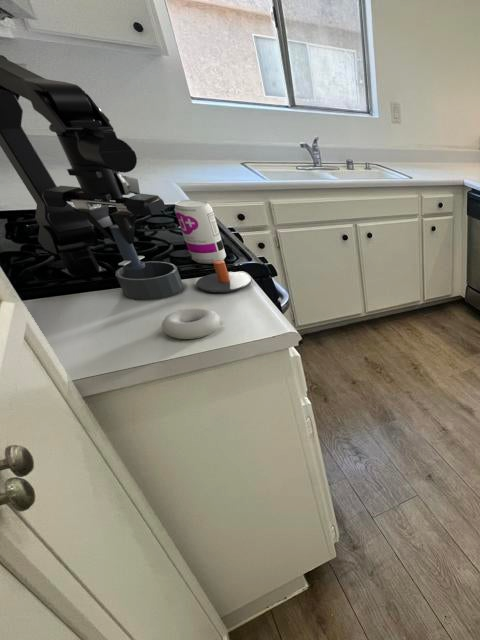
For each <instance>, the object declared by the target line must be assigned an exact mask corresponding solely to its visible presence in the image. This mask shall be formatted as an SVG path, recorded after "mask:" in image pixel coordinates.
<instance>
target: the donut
mask: <svg viewBox="0 0 480 640" xmlns="http://www.w3.org/2000/svg"><path fill="white" fill-rule="evenodd" d="M220 325H221V318H220V315H218V313H216V312H215V311H214V310H211V309H208V308H204V307H189V308H184V309H179V310H176V311H174V312H171V313H170V314H168V315H166V316H165V318H164V319H163V320H162V322H161V328H162V331H163V332H164V333H165V334H166V335H167V336H168V337H172V338H175V339H180V340H192V339H199V338H203V337H206V336H209V335H211V334H213V333H214V332H216V331H217V330H218V329H219V327H220Z"/></svg>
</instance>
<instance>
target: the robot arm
mask: <svg viewBox="0 0 480 640" xmlns="http://www.w3.org/2000/svg"><path fill="white" fill-rule="evenodd" d="M20 97H22V98H24V99H26V100H28V101H30V103H31V106H32V108H33V110H34V111H36V112H37V113H38V114H40V115H41V116H42V117H43V118H44V119H45V120H47V121H48V122H49V123H50V124H49V126H48V129H49V131H50V132H52V133H55V134H56V136H57V139H58V141H59V143H60V146H61V148H62V150H63V152H64V154H65V156H66V159H67V161H68V163H69V165H70V167H71V168H66V171H67V173H68V174H69V176H72V177H73V176H74V177H75V178H76V181H77V182H78V184H79V186H80V187H79V186H72V185H71V186H69V185H57V184H56V182H55V180H54V179H53V177H52V175H51V174H50V172H49V170H48V169H47V167H46V166H45V163H44V162H43V160H42V159H41V157H40V155H39V154H38V152H37V151H36V148H35V147H34V145H33V144H32V142H31V140H30V139H29V137H28V135H27V134H26V131H25V130H24V128H23V126H22V121H23V113H24V112H23V111H24V110H23V107H22V106H21V104H20V102H19V99H20ZM0 148H1V150H2V152H3V153H4V155H5V156H6V157H7V159H8V161H9V162H10V164H11V166H12V167H13V169H14V171H15V172H16V173H17V175H18V177H19V179H20V181H22V183H23V184H24V186H25V188H26V190H27V191H28V193H29V194H30V196H31V197H32V199H33V201H34V202H35V204H36V209H35V217H34V218H35V221H36V222H37V224H38V226H39V229H38V237H37V241H38V243H39V244H40V245H41V247H42V248H43V249H44V250H45V251H47V252H50V253H54V254H56V255H58V256H59V258H60V259H61V261H62V263H63V265H64V267H65V268H63V269H62V268H61V273H63V274H65V275H67V276H69V277H71V278H73V279H81V278H86V277H89V276H94V275H99V274H104V273H107V272H108V270H107V268H104V267H102V266H100V265H99V264H98V262H97V260H96V258H95V256H94V254H93V251H92V250H91V247H93V246H99V239H98V236H97V232H96V228H97V229H98V230H99V231H100V232H101V233H102V234H103V235H104V236H106V237H107V238H108V239H109V240H110V241H111V242H112V243H115V244H116V242H115V239H114V237H113V235H112V233H111V230H110V228H109V226H111V225H114V224H113V222H112V220H111V217H112V219H113V220H114V222H115V225H118V227H119V229H120V231H121V232H122V234H123V236H124V237H125V239H126V240H127V241H128V243H129V244H134V243H135V227H136V226H135V225H136V219H137V216H145V217H148V216H153V215H155V214H158V213H160V212H162V211H165V210H166V209H167V207H166V204H165V202H164V199H163V198H162V197H160V196H159V195H157V194H149V193H141V191H140V185H139V179H138V178H134V177H130V176H126V175H122V174H121V173H124V174H125V173H129V172H131V171H133V170H134V169H135V168H136V166H137V164H138V158H137V154H136V152H135V150H134V149H133V148H132V146H130V145H129V144H128V143H127V142H126V141H124V140H123V139H120V138H118V136H117V133H116V131H115V130H114V127H113V125H112V124H111V123H110V119H109V118H108V117H107V116H106V115H105V113H104V112H103V111H102V110H101V109H100V108H99V107H98V105H97V104H96V103H95V101H94V100H93V99H92V97H91V96H90V95H89V94H88V93H86V91H85V90H84V89H83V88H82V87H80V86H79V85H78V84H75V83H72V82H71V83H70V82H67V81H62V80H61V81H60V80H54V79H48V78H45V77H42V76H41V75H38V74H37V73H35V72H33V71H31V70H29V69H27V68H25V67H23V66H20V65H19V64H17V63H15V62H13V61H10V60H9V59H8V58H7V57H6V56H5V55H3V54H0ZM130 194H133V195H131V196H129V195H130ZM126 196H129V197H126ZM71 203H72V204H73V205H72V204H71ZM109 207H115V208H116V210H117V211H115V212H112V213H110V215H109V210H110V209H109ZM110 216H111V217H110Z"/></svg>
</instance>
